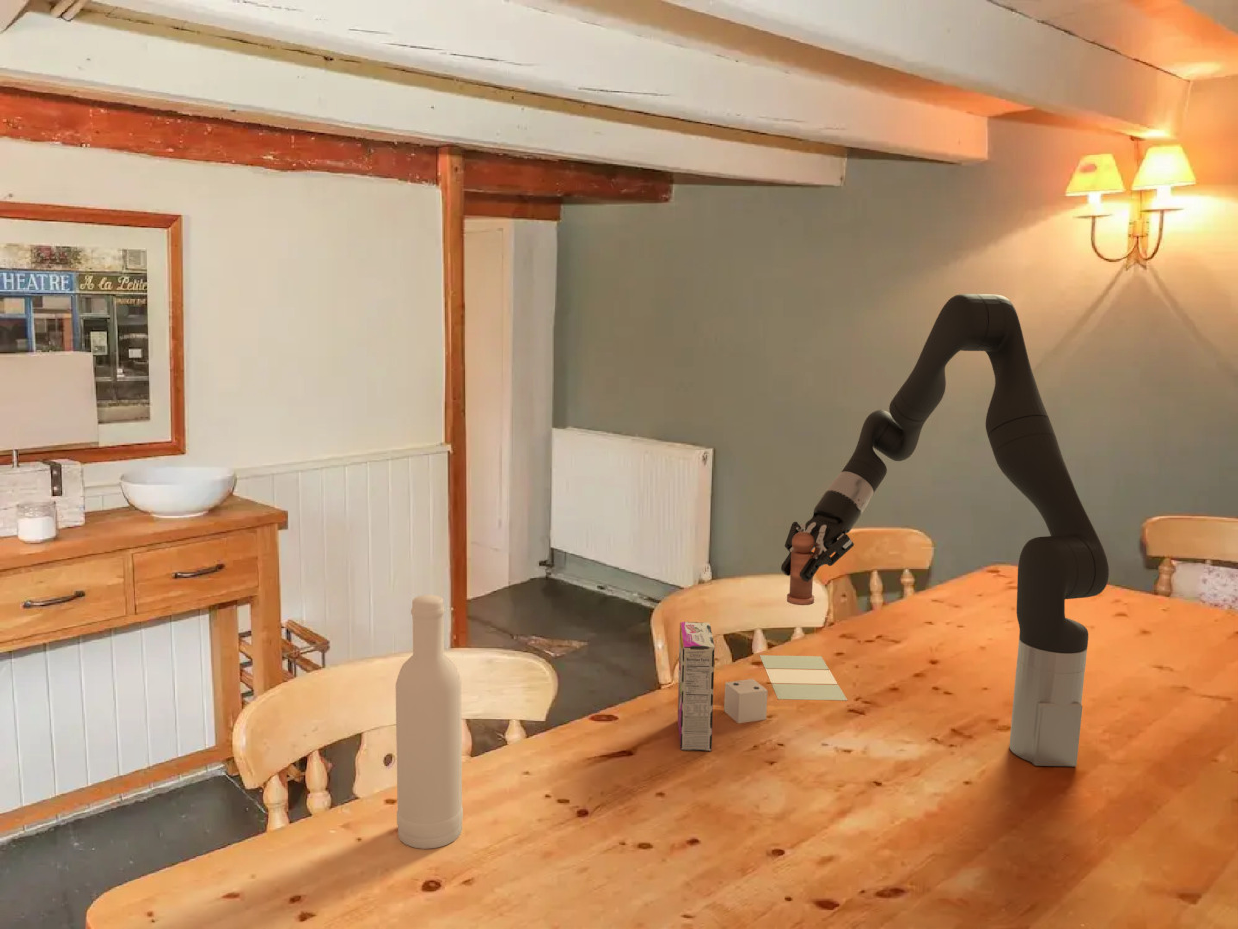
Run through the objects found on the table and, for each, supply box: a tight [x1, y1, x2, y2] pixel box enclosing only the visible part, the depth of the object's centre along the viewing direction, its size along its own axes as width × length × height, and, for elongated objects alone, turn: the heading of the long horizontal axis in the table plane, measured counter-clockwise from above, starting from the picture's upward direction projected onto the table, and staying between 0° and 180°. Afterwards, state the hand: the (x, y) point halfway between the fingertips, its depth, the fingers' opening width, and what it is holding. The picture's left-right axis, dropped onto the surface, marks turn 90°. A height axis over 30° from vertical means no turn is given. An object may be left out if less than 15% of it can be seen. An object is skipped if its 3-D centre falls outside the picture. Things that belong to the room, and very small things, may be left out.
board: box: [759, 654, 848, 701], centre depth 174 cm, size 22×13×1 cm, turn 0°
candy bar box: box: [677, 621, 715, 752], centre depth 149 cm, size 11×5×16 cm, turn 179°
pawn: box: [786, 532, 815, 606], centre depth 175 cm, size 5×5×13 cm
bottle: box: [395, 594, 464, 850], centre depth 119 cm, size 8×8×30 cm
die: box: [723, 678, 769, 724], centre depth 158 cm, size 5×5×5 cm
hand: (794, 575), depth 174 cm, fingers closed on pawn, 4 cm apart
